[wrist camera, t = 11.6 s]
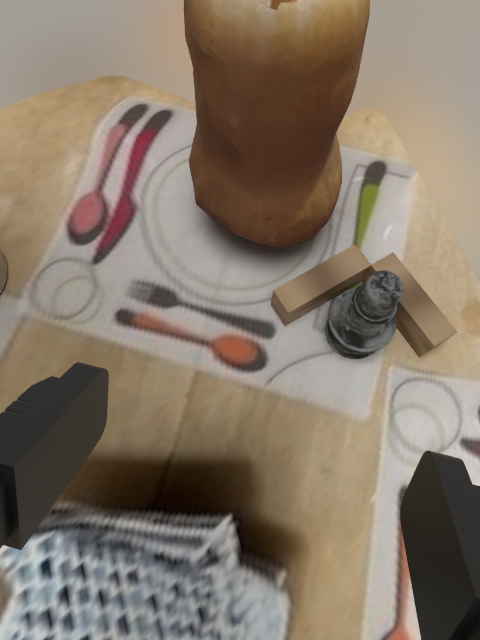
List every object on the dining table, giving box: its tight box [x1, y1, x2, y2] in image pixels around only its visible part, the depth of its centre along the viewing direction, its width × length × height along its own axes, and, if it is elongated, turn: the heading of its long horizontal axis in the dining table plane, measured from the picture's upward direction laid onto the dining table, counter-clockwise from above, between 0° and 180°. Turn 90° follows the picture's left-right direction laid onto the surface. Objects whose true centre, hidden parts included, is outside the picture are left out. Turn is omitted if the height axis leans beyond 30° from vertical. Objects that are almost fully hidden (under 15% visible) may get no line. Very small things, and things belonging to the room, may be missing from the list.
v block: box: [271, 245, 457, 357], centre depth 41 cm, size 8×16×4 cm, turn 76°
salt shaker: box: [325, 270, 404, 359], centre depth 36 cm, size 6×6×12 cm
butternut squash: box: [184, 0, 370, 247], centre depth 35 cm, size 14×13×25 cm
